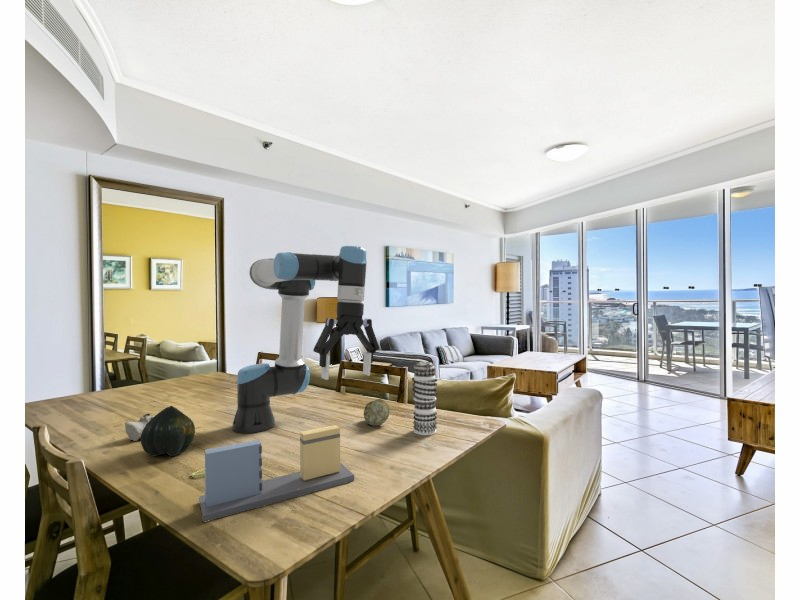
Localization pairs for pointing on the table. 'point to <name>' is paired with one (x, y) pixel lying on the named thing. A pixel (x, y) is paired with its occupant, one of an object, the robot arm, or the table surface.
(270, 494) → the base
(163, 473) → the table surface
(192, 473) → the key
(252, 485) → the blue square panel
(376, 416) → the seashell
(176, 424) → the squash
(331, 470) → the tan cardboard parcel
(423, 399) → the white patterned cylinder
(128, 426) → the ceramic sculpture
